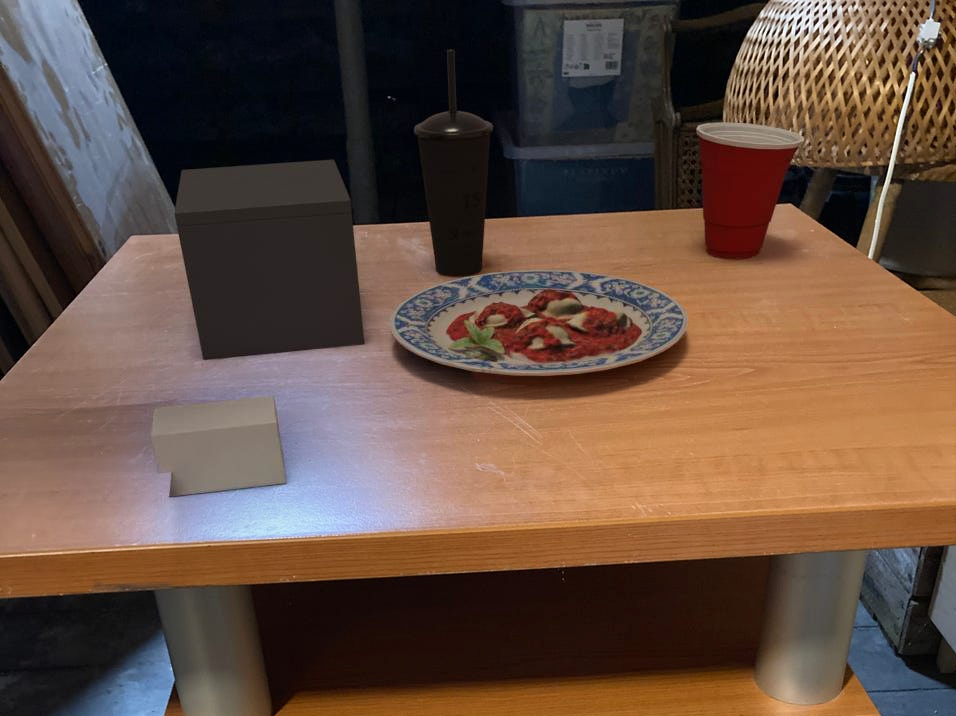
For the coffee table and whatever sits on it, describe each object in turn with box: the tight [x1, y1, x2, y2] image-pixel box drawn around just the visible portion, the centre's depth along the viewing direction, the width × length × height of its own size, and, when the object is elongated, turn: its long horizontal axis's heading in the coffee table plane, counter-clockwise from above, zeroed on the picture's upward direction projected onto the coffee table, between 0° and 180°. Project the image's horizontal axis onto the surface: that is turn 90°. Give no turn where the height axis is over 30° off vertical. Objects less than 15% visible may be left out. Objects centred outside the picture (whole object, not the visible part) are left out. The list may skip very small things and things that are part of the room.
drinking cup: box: [413, 49, 494, 277], centre depth 99 cm, size 8×8×20 cm
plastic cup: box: [695, 121, 805, 259], centre depth 104 cm, size 11×11×12 cm
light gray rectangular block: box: [150, 395, 287, 497], centre depth 67 cm, size 8×4×4 cm, turn 101°
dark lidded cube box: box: [174, 159, 365, 360], centre depth 90 cm, size 14×16×12 cm
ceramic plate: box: [389, 269, 689, 377], centre depth 87 cm, size 26×26×3 cm
